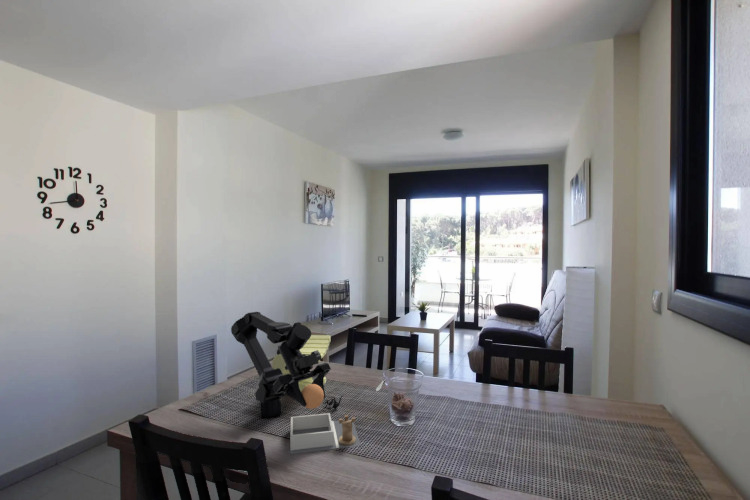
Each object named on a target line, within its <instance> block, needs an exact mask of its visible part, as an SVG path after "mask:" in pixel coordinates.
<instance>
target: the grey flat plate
mask: <svg viewBox="0 0 750 500" xmlns="http://www.w3.org/2000/svg"><path fill="white" fill-rule="evenodd" d="M344 420H345V419H343V421H344ZM348 420H351V421H352V418H351V419H349V418H348ZM331 421H332V426H333V431H334V445H333V446H324V447H315V448H306V449H297V450H290V449H289V455H294V454H295V455H296V454H303V453H312V452H319V451H320V452H321V451H327V450H329V451H330V450H339V449H346V448H347V449H348V448H353V447H354V448H356V447H362V445H361V441H360V438H359V436H358V432H357V429H356V425H355V422H352V435H353V436H355V437H356V442H355V443H354V444H352V445H342V444H340V443H339V438H340V437H341V436H342V423H341V424H339V420H331ZM325 431H329V428H328V427H321V428H311V429H301V430H293V435H296V434H306V433H315V432H325Z"/></svg>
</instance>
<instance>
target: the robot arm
mask: <svg viewBox="0 0 750 500" xmlns="http://www.w3.org/2000/svg"><path fill="white" fill-rule="evenodd" d="M258 330H259V331H261V332H263V333H264V334H266V335H267V336H266V338H267V340H268V341H270V342H271V343H272V344H279V343H281V344H280V345H278V346H277V350H276V355H279V354H281V355H282V357H283V359H284V362H285V364H286V366H285V370H289V372H290V374H286V375H283V374H282V372H281V370H280V369H279V368H277V369H273V365H272V364H271V363H270V361H269V359H268V357H267V355H266V353H265V352H264V349H263V347H262V346H261V343H260V341H259V339H258V338H257V334H258ZM230 331H231V334H232V336H233V338H234V339H235V340H236V341H237V343H240V344H242V345H243V346H244V348H245V350H246V351H247V354H248V355H249V358H250V359H251V361H252V364H253V366H254V367H255V370H256V372H257V374H258V376H259V380H258V388H257V389H256V391H255V393H254V395H255V400H256V401H258V402H260V416H259V419H260V420H265V419H278V418H280V417H281V415H282V411H283V410H282V409H283V406H282V405H283V402H282V399H281V397H284V396H285V395H287V396H289V397H290V398H292V399H293V400H295V402H297V403H299V405H301V406H302V407H304V408H306V407H305V406H306V405H307V404H306V401H305V399H304V397H303V395H302V393H301V391H300V389H299V381H302V380H305V379H309V378H312V379H313V382H312V384H316V385H318V386H320V387H321V388H322V390H323V393H324V399H323V400H325V398H326V392H325V391H326V390H325V384H324V381H323V380H324V377H326V376H327V375H328V373H330V371H331V370H332V368H331V366H330V364H329V363H327V362H324V363H321V364H319V363H320V361H321V360H322V359H321V354H320V353H319V351H318V350H317V351H313V352H311V355H308V356H306V355H305V354H303V355H302V354H301V352H300V349H302V348H303V346H304V345H305V344H306V342H307V341H308V340H309V338H310V337H311V335H312V331H311V329H310V328H309V327H307V326H306V325H304V324H302V323H301V322H300V321H299V322H294V323H293V325H291V324H290V323H288V322H281V321H274V320H273V319H271V318H269V317H267V316H265V315H263V314H262V313H261V312H260V311H252V312H247V313H245V314H244V316H242V317H240V318H239V319H237V320H236V321H235V322H234V323H233V324H232V325H231V328H230ZM319 360H320V361H319ZM318 361H319V362H318ZM315 365H316V366H315ZM314 366H315V368H314ZM313 368H314V369H313ZM312 369H313V370H312Z"/></svg>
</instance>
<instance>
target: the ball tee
mask: <svg viewBox="0 0 750 500" xmlns="http://www.w3.org/2000/svg"><path fill="white" fill-rule="evenodd" d="M351 419H352V421H351V420H349V414H345V415H344V418H339V419H338V421H339V424H341V423H342V436H341V437H340V438H339V443H340V444H342V445H352V444H354V443H355V442H356V437H355V436H353V435H352V422H353V423H356V416H355V417H354V416H353V417H351ZM343 420H344V421H343Z"/></svg>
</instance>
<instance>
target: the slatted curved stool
mask: <svg viewBox="0 0 750 500" xmlns="http://www.w3.org/2000/svg"><path fill="white" fill-rule="evenodd" d="M331 338H332V337H331V335H330V334H329V335H327V334H325V335H323V334H311V337H310V338H309V340H308V341H307V342H306V344H305V345H304V346H303V348H302V349H300V352H301V354H302V355H303V354H305V355H306V356H308V355H311V352H313V351H317V350H318V351H319V353H320V354H321V360H322V359H323V358H324V356H325V355H326V354H327V351H328V349H329V346H330V343H331ZM321 360H319V361H318V362H319V363H320V361H321ZM285 366H286V364H285V362H284V359H283V357H282V355H281V354H279V355H277V354H276V355H275V356H274V357H273V358H272V368H273V369H277V368H279V369H280V370H281V372H282V374H283V375H286V374H290V372H289V370H285ZM323 381H324V385H325V384H326V382H327V377H326V376H325V377H324V380H323ZM312 382H313V379H312V378H309V379H305V380H302V381H299V389H300V391H301V392H302V390H303V389H304V387H306V386H307V385H309V384H312Z"/></svg>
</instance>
